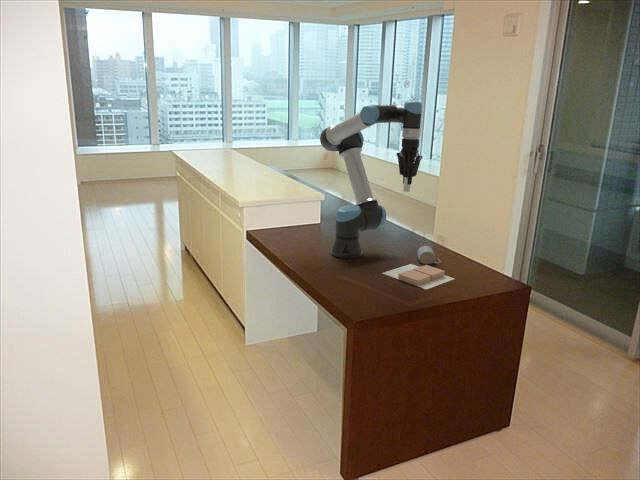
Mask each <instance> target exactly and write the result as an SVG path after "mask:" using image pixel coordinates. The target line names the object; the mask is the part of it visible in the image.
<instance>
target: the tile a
mask: <svg viewBox="0 0 640 480" xmlns="http://www.w3.org/2000/svg"><path fill="white" fill-rule="evenodd" d="M399 279H400V281H402V280H403V282H404V281H406V282H405V283H407V282H408V284H410V283H411V284H410V285H413V284H414V285H413V286H415V285H420V284H423V283H426V282H429V281H430V279H431V276H430V275H427V274H424V273H421V272H418V271H415V270H409V271H406V272H403V273H400V274H399V275H398V279H397V280H399Z"/></svg>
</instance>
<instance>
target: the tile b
mask: <svg viewBox="0 0 640 480" xmlns="http://www.w3.org/2000/svg"><path fill="white" fill-rule="evenodd" d="M413 270H415V271H418V272H421V273H424V274H427V275H430V276H431V279H430V280H434V279H437V278H440V277H442V276H444V275H445V272H446V270H442V269H440V268H438V267H434V266H430V265H429V264H425V265H424V264H423V265H422V266H421V265H420V266H419V267H418V268H415V269H413ZM445 276H446V275H445Z"/></svg>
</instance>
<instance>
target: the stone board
mask: <svg viewBox="0 0 640 480" xmlns="http://www.w3.org/2000/svg"><path fill="white" fill-rule="evenodd" d="M418 267H420V266H418V265H415V264H413V263H409V264H407V265H403V266H400V267H397V268H394V269H391V270H387V271H385V272H382V274H383V275H385V276H389V277H391V278H393V279H397V280H400V279H398V275H399V274H400V273H403V272H406V271H409V270H413V269H415V268H418ZM453 280H455V278H454V277H451V276H448V275H444V276H442V277H440V278H437V279H434V280H430V281H429V282H426V283H423V284H420V285H414V284H411V283H408V282H406V281H403V280H400V281H403V283H404V282H405V283H408V284H410V285H413V286H415V287H419V288H422V289H424V290H429V289H432V288H434V287H436V286H441V285H442V284H445V283H448V282H451V281H453Z"/></svg>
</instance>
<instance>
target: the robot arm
mask: <svg viewBox="0 0 640 480" xmlns="http://www.w3.org/2000/svg"><path fill="white" fill-rule="evenodd" d="M422 113H423V104H422V102H421V101H410V100H409V101H405V102H404V105H398V104H383V105H381V104H368V105H367V104H366V105H364V106H362V107H361V109H360V112H358V113H356V114H354V115H352V116H349V118H347V119H345V120H343V121H341V122H339V123H338V124H336V125H329V126H328V127H325V129H323V130H322V131H321V133H320V135H319V136H320V137H319V141H320V144H321V147H322V148H324V149H325V150H327V151H329V152H338V154H339V157H340V158H341V159H343V160H344V164H345V168H346V171H347V174H348V178H349V182H350V185H351V188H352V191H353V194H354V195H353V196H354V199H355V201H356V204H350V205H349V204H347V205H342V206H340V207H339V208H338V209H336V212H335V232H334V233H335V235H334V240H333V244H332V247H331V248H330V255H332V257H333V256H334V257H336V258H340V259H357V258H360V257H361V256H362V255H363V248H362V245H361V242H360V232H367V231H375V230H378V229H381V228H382V227H383V226H384V225H385V223H386V221H387V211H386V208H385V207H384V206H383V205H381V204H379V202H378V199H376V198H374V195H373V192H372V189H371V186H370V183H369V180H368V176H367V173H366V169H365V166H364V162H363V159H362V156H361V153H362V151H363V149H362V148H363V147H364V145H365V144H364V141H365V139H364V135H363V133H362V131H364V130H365V129H367V128H370V127H371V126H374V125H375V124H383V123H384V124H386V123H387V124H389V123H390V124H391V123H396V124H397V123H398V124H402V133H401V136H402V138H401V147H402V148H401V151H399V152H397V153H396V157H397V161H398V170H399V175H402V177H403V178H402V184H403V190H402V191H403V192H404V193H407V192H410V190H411V185H412V183H413V178H414V177H417V174H418V171H419V167H420V162H421V161H422V160H423V157H424V156H423V155H421V154H419V146H420V139H419V138H420V137H421V125H422V124H421V123H422Z"/></svg>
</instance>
